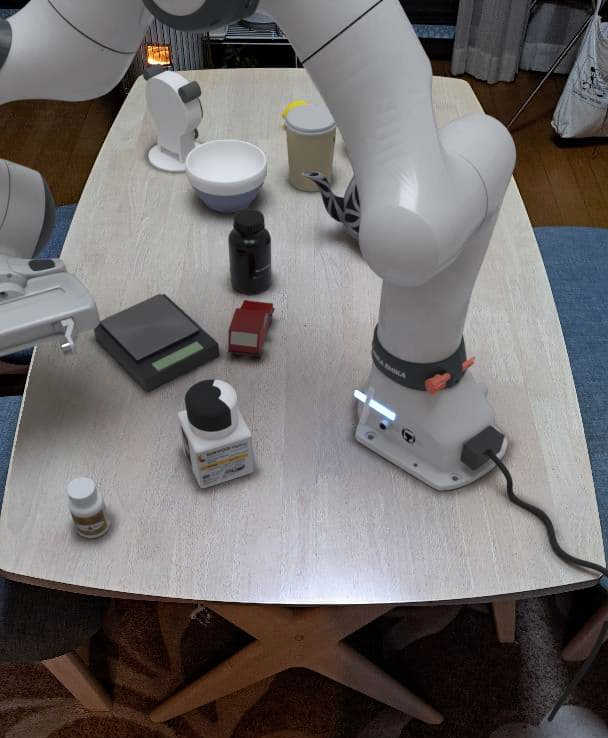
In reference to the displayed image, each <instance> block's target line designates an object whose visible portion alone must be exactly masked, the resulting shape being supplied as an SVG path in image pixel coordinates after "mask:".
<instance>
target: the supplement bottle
mask: <svg viewBox="0 0 608 738" xmlns="http://www.w3.org/2000/svg"><path fill="white" fill-rule="evenodd" d="M232 221H233V223H232V229H231V230H230V232H229V234H228V237H227V243H228V245H227V246H228V261H229V275H230V283H231V286H232V287H233V288H234V289H235V290H236V291H238V292H240V293H242V294H247V295H254V294H255V295H256V294H260V293H263V292H265V291H266V290H267V289H268V288H269V287H270V286H271V283H272V236H271V234H270V232H269V230H268V229H267V228H266V223H265V215H264V213H263V212H262V211H260V210H258V209H255V208H245V209H242V210H240V211H237V212H234V215H233V220H232Z"/></svg>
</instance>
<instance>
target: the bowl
mask: <svg viewBox="0 0 608 738" xmlns="http://www.w3.org/2000/svg"><path fill="white" fill-rule="evenodd" d="M200 144H201V145H199V146H197V147H196V148H194V149H193V150H192V151H191V152H190V153H189V154H188V155H187V157H186V161H185V170H186V171H185V175H186V178H187V181H188V183H189V185H190V186H191V187H192V190H193V191H195V192H196V194H197V196H198V197H199V198H200V199H201V200H202V201H203V202H204V203H205V205H206V206H207V207H208V208H209V209H211V210H213V211H216V212H219V213H236V212H238V211H240V210H242V209H248V207H250V205H251V204H252V203H253V201H254V199H255V198H256V197H257V195H258V194H259V193H260V190H261V188H262V187H263V185H264V184H265V183H264V182H265V180H266V179H267V176H268V160H267V156H266V154H265V153H264V151H263V150H262V149H261V148H259V147H258V146H256V145H255V144H253V143H250V142H247V141H244V140H239V139H227V138H226V139H215V140H210V141H207V142H204V143H200Z"/></svg>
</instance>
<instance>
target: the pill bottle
mask: <svg viewBox="0 0 608 738" xmlns="http://www.w3.org/2000/svg"><path fill="white" fill-rule="evenodd" d="M66 494H67V497H68V499H67V508H68V509H69V513H70V516H71V519H72V521H73V524H74V526H75V529H76V531H77V533H78V534H79V535H80V536H82V537H84V538H87V539H95V538H99V537H101V536H103V535H104V534H105V533H106V532H108V530H109V529H110V526H111V519H110V514H109V512H108V508H107V506H106V503H105V499H104V496H103V494H102V493H101V491H99V490H98V489H97V486H96V483H95V482H94V481H93V480H92V479H91V478H89V477H87V476H86V477H84V476H83V477H82V476H81V477H76V478H74V479H73V480H71V481H70V482H69V483H68V484H67V487H66Z"/></svg>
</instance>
